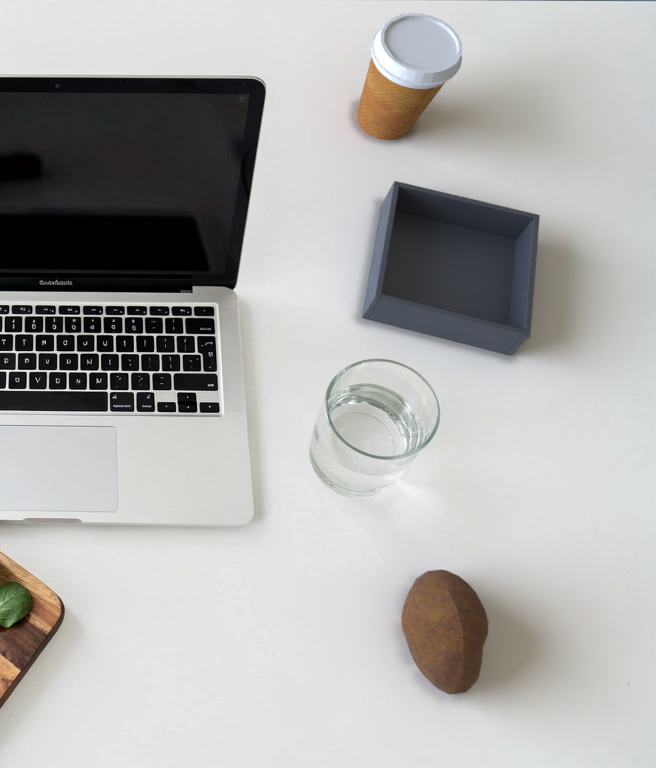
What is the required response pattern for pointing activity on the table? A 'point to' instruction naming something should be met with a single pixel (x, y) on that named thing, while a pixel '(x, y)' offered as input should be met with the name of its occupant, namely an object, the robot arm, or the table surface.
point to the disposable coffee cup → (406, 73)
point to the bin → (453, 268)
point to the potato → (445, 630)
